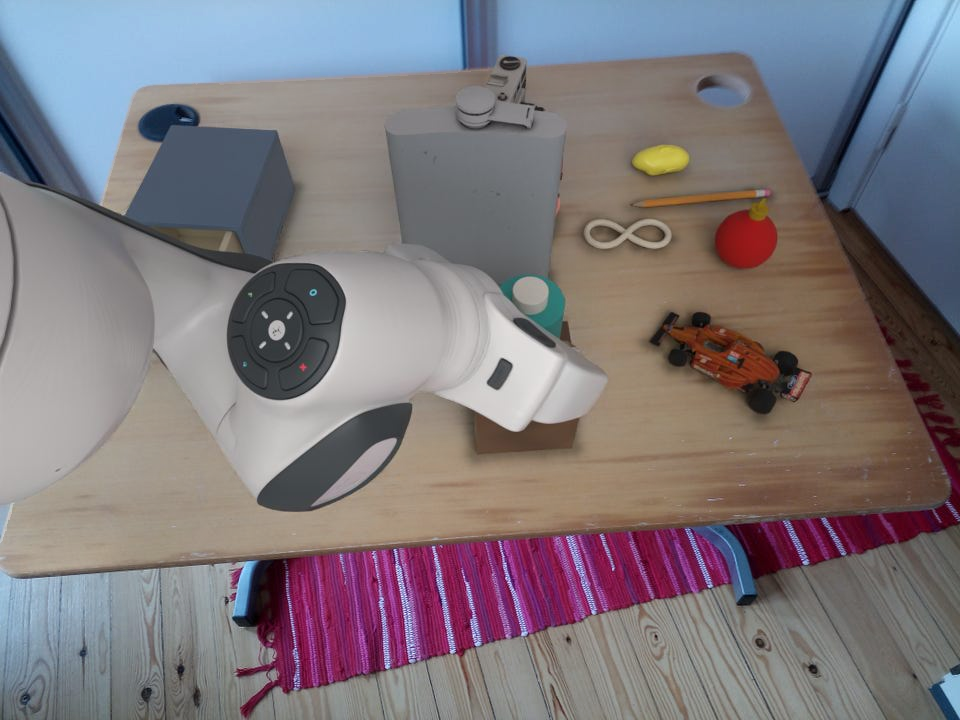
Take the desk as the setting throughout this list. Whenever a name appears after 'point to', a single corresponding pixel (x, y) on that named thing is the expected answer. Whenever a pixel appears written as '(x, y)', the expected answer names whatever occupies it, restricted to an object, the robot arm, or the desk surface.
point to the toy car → (734, 361)
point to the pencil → (702, 198)
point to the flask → (479, 181)
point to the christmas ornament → (747, 237)
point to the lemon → (661, 159)
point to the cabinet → (218, 185)
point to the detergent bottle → (537, 300)
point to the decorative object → (627, 233)
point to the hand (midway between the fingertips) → (528, 323)
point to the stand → (525, 430)
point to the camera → (510, 80)
